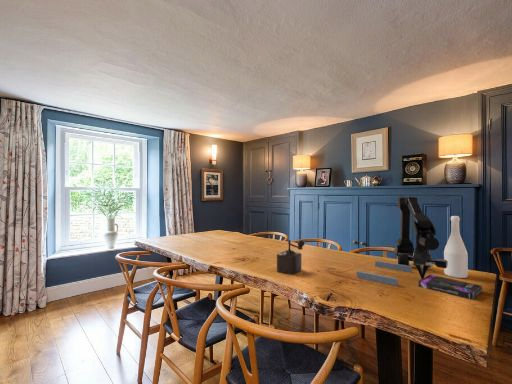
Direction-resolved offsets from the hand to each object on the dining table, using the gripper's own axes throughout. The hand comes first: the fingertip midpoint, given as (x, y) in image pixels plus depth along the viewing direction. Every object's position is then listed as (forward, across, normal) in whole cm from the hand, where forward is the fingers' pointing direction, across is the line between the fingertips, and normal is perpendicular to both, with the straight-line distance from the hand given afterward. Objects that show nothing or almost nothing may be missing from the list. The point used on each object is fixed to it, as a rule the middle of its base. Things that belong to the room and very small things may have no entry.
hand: (422, 278), depth 123 cm
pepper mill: (+2, -54, -27) cm, 61 cm away
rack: (+1, -16, 0) cm, 16 cm away
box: (+2, +10, -3) cm, 11 cm away
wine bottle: (+2, +10, +22) cm, 25 cm away
